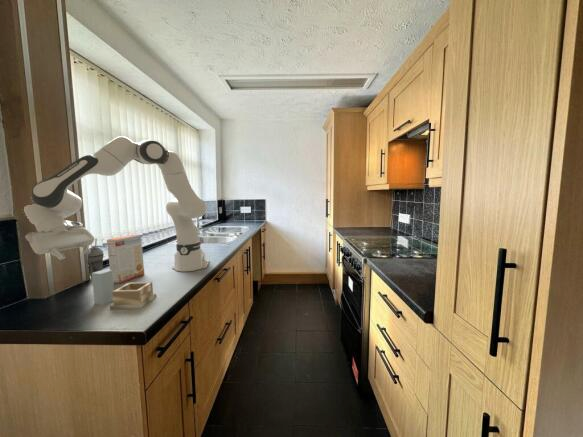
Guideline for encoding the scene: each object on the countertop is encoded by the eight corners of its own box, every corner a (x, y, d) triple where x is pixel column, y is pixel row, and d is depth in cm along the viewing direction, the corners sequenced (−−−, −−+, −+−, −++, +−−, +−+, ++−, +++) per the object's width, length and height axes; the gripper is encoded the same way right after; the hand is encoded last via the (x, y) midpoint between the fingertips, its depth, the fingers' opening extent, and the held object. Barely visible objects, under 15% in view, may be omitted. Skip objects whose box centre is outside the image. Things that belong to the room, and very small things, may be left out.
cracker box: (136, 273, 135) (132, 234, 132) (145, 274, 133) (141, 234, 131) (110, 282, 121) (106, 239, 119) (119, 283, 119) (115, 239, 117)
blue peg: (94, 303, 98) (91, 273, 96) (105, 299, 102) (103, 269, 101) (103, 305, 96) (100, 273, 95) (114, 300, 101) (112, 270, 100)
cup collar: (129, 296, 104) (127, 282, 103) (156, 296, 104) (155, 281, 103) (110, 309, 93) (108, 292, 92) (140, 308, 93) (139, 291, 92)
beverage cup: (86, 278, 129) (82, 238, 127) (104, 274, 134) (100, 236, 132) (88, 281, 124) (84, 240, 122) (107, 277, 129) (103, 238, 127)
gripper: (26, 227, 91) (49, 256, 89) (85, 222, 111) (104, 245, 109) (18, 239, 92) (41, 267, 91) (77, 232, 112) (97, 255, 111)
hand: (76, 255), depth 100 cm, fingers open, 8 cm apart
